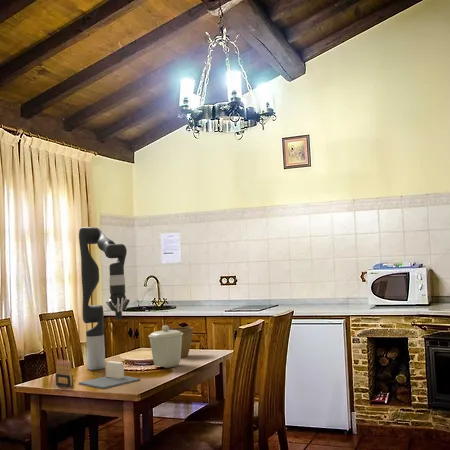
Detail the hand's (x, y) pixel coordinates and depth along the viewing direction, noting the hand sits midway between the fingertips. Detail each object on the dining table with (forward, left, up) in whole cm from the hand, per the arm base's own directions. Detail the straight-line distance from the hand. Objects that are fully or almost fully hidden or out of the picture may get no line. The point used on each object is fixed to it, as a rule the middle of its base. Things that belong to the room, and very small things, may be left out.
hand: (118, 319), depth 271 cm
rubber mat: (+9, -13, -27) cm, 31 cm away
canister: (+4, +26, -27) cm, 38 cm away
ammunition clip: (-4, -28, -27) cm, 40 cm away
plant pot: (-12, +50, -27) cm, 58 cm away
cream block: (+10, -7, -23) cm, 26 cm away
